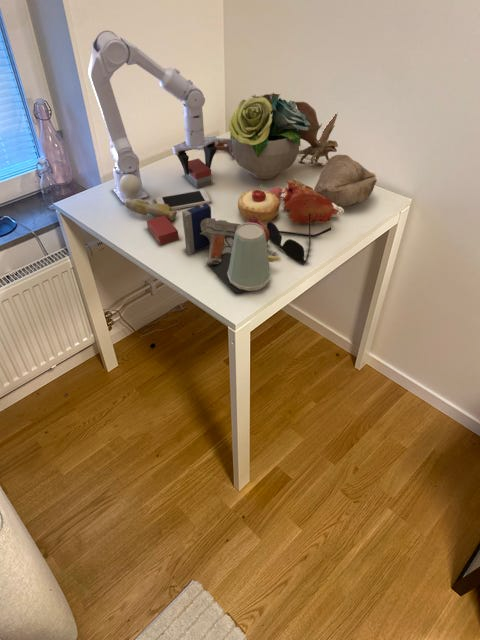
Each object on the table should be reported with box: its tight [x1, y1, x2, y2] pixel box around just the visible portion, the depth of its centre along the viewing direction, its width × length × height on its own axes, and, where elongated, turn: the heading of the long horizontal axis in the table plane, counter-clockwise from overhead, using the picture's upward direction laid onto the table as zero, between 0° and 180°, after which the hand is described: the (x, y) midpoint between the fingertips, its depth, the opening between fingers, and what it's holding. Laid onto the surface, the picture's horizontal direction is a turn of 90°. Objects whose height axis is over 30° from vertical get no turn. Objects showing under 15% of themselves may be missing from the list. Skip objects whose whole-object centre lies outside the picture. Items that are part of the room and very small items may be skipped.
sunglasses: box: [266, 214, 332, 265], centre depth 130 cm, size 17×14×5 cm
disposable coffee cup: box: [227, 221, 272, 292], centre depth 114 cm, size 11×11×15 cm
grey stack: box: [184, 173, 213, 189], centre depth 157 cm, size 9×5×3 cm, turn 30°
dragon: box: [294, 101, 339, 166], centre depth 160 cm, size 17×25×19 cm
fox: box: [268, 254, 282, 263], centre depth 121 cm, size 12×9×2 cm
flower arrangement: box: [228, 91, 310, 180], centre depth 151 cm, size 25×25×24 cm
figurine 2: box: [267, 186, 289, 213], centre depth 145 cm, size 12×3×7 cm
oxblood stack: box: [146, 215, 180, 246], centre depth 134 cm, size 9×6×3 cm, turn 30°
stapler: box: [331, 203, 345, 219], centre depth 140 cm, size 13×5×2 cm
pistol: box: [200, 217, 242, 266], centre depth 128 cm, size 19×2×12 cm
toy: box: [267, 244, 279, 257], centre depth 129 cm, size 1×8×2 cm
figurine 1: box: [124, 198, 178, 222], centre depth 140 cm, size 5×5×15 cm
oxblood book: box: [188, 157, 212, 179], centre depth 155 cm, size 9×6×2 cm, turn 30°
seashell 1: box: [282, 177, 338, 225], centre depth 133 cm, size 17×11×15 cm
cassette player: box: [181, 203, 212, 255], centre depth 126 cm, size 7×2×12 cm, turn 125°
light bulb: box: [120, 174, 140, 199], centre depth 142 cm, size 6×6×10 cm
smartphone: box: [155, 189, 211, 211], centre depth 147 cm, size 7×15×1 cm, turn 109°
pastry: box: [237, 183, 281, 224], centre depth 139 cm, size 12×12×9 cm
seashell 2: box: [313, 154, 378, 207], centre depth 144 cm, size 16×17×15 cm
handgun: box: [215, 137, 235, 159], centre depth 171 cm, size 3×19×12 cm
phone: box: [207, 251, 247, 295], centre depth 122 cm, size 7×1×15 cm
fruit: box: [245, 217, 270, 245], centre depth 126 cm, size 8×8×10 cm
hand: (197, 170), depth 155 cm, fingers open, 7 cm apart
